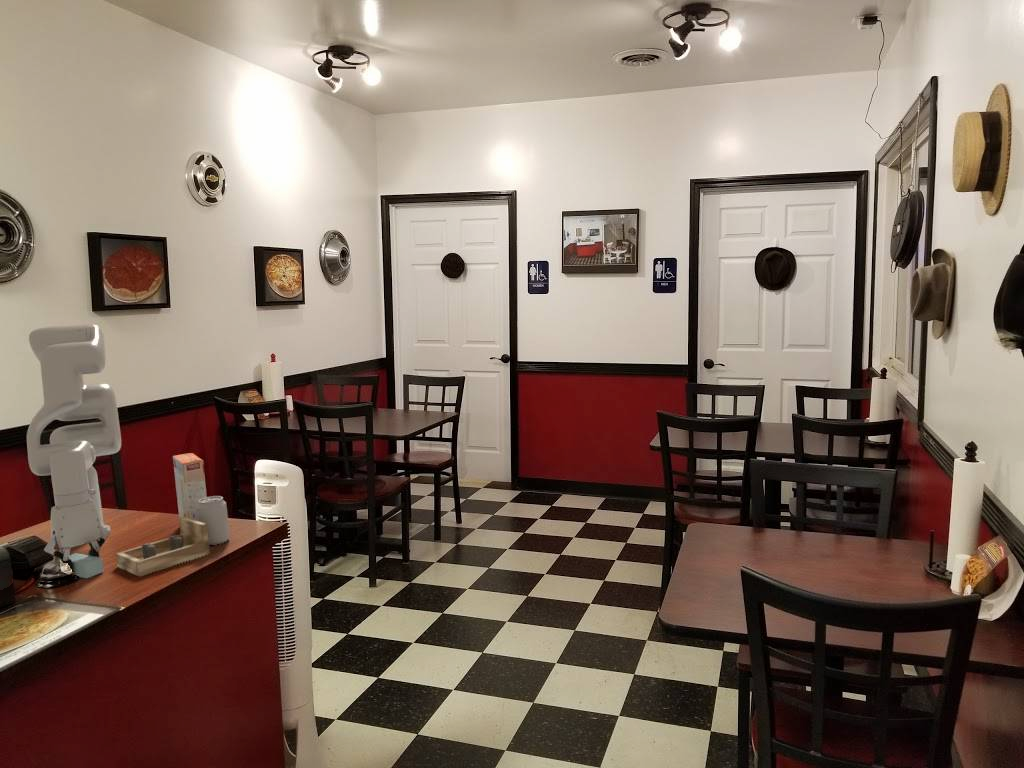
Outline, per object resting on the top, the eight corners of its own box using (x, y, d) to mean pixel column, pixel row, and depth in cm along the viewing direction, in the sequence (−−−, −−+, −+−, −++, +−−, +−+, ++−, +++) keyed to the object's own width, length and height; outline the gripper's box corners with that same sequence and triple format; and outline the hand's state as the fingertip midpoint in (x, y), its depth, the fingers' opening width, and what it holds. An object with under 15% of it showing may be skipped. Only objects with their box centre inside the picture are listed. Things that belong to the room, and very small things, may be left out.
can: (220, 547, 208) (215, 502, 206) (194, 546, 209) (189, 502, 207) (235, 537, 215) (231, 494, 213) (210, 537, 216) (205, 494, 215)
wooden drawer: (117, 567, 196) (113, 535, 195) (186, 545, 210) (183, 516, 209) (139, 576, 189) (135, 544, 188) (209, 554, 202) (206, 523, 201)
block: (60, 572, 194) (58, 559, 193) (77, 566, 198) (76, 553, 197) (86, 578, 189) (84, 564, 189) (103, 571, 193) (102, 558, 192)
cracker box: (211, 533, 220) (203, 459, 217) (189, 537, 217) (180, 463, 214) (201, 521, 232) (193, 451, 229) (179, 526, 229) (171, 455, 226)
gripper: (102, 487, 200) (111, 556, 202) (27, 505, 187) (37, 578, 189) (115, 492, 195) (124, 562, 197) (39, 510, 182) (50, 585, 184)
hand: (82, 569), depth 193 cm, fingers closed on block, 5 cm apart
